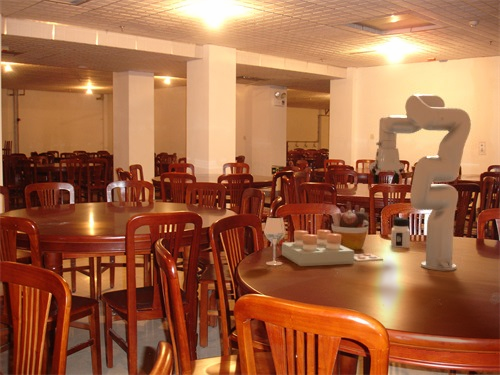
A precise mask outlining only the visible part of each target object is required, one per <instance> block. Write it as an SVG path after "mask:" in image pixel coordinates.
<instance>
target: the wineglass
mask: <svg viewBox="0 0 500 375" xmlns="http://www.w3.org/2000/svg"><path fill="white" fill-rule="evenodd" d="M263 233H264V236H265V237H266V239H268V241H269V242H271V244H272V246H273V251H272V252H273V255H272V257H273V258H272V261H267V262H266V263H265V265H266V266H267V265H268V266H273V267H274V266H275V267H276V266H277V267H278V266H282V265H283V262H281V261H276V250H277V249H276V246H277V244H278V243H279V242H281V241H282V240H283V238H284V237H285V236H286V233H287V232H286V226H285V222H284V217H283V216H278V215H272V216H267V218H266V222H265V226H264V229H263Z"/></svg>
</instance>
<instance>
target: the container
mask: <svg viewBox="0 0 500 375" xmlns="http://www.w3.org/2000/svg"><path fill="white" fill-rule="evenodd" d="M390 236H391V238H390V239H391V240H390V241H391V242H390V245H391V247H392V248H401V249H402V248H403V249H404V248H406V249H409V248H410V245H411V239H410V238H411V231H410V229H409V219H408V218H405V217H394V219H393V227H391V235H390Z"/></svg>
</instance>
